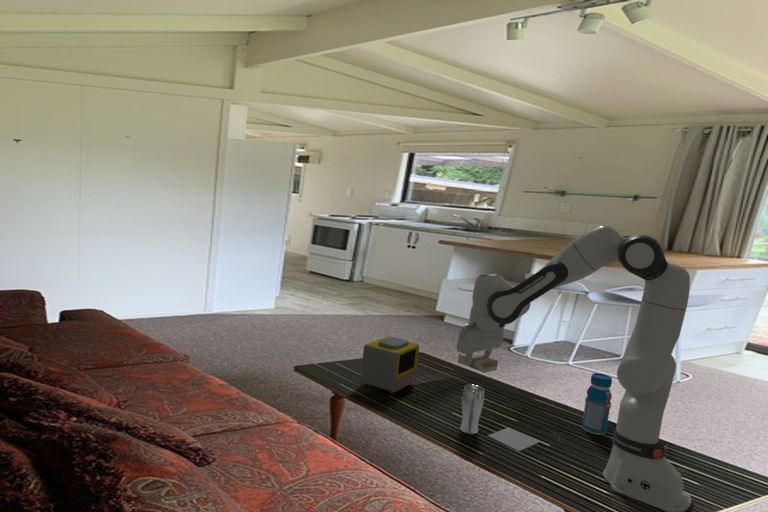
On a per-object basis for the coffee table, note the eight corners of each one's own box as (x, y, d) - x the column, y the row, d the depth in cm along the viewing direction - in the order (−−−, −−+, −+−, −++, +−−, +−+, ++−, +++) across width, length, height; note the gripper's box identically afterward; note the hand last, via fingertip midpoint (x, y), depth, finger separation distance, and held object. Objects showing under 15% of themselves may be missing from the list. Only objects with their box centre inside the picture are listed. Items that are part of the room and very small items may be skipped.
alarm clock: (393, 398, 193) (398, 350, 191) (358, 386, 201) (363, 341, 199) (417, 384, 210) (422, 341, 208) (384, 374, 218) (388, 332, 216)
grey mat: (539, 443, 167) (539, 441, 167) (518, 452, 159) (519, 451, 159) (508, 429, 176) (508, 427, 175) (487, 437, 167) (487, 435, 167)
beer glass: (479, 437, 166) (485, 393, 165) (457, 433, 168) (463, 389, 166) (479, 429, 173) (485, 386, 172) (458, 425, 174) (464, 382, 173)
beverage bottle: (586, 434, 178) (594, 378, 176) (577, 423, 186) (585, 370, 184) (610, 436, 178) (619, 381, 176) (600, 426, 186) (609, 373, 184)
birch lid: (496, 369, 166) (498, 361, 166) (484, 373, 162) (485, 363, 162) (470, 359, 174) (471, 351, 174) (457, 362, 170) (458, 353, 170)
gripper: (470, 327, 157) (465, 370, 159) (508, 321, 171) (503, 361, 173) (454, 322, 162) (449, 364, 163) (493, 317, 176) (488, 356, 177)
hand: (477, 363), depth 168 cm, fingers closed on birch lid, 7 cm apart
